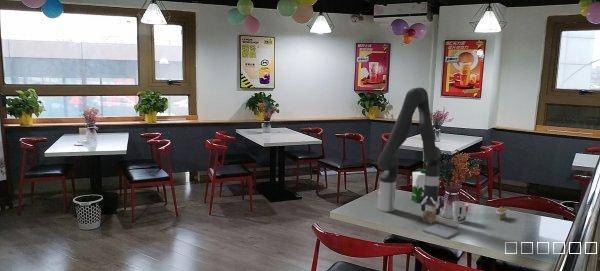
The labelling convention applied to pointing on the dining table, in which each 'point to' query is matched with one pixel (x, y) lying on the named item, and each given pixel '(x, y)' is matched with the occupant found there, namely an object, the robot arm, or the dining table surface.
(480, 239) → the dining table surface
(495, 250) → the dining table surface
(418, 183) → the milk carton
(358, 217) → the dining table surface
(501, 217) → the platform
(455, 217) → the cup
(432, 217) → the walnut cube
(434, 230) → the grey mat
